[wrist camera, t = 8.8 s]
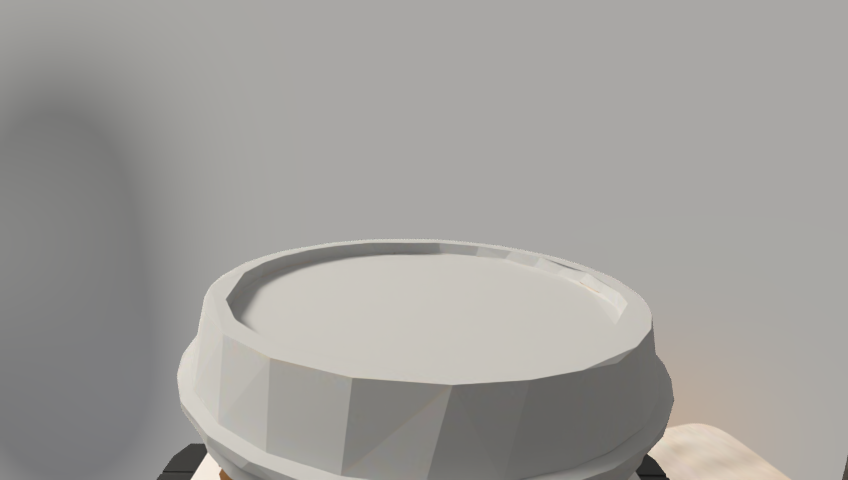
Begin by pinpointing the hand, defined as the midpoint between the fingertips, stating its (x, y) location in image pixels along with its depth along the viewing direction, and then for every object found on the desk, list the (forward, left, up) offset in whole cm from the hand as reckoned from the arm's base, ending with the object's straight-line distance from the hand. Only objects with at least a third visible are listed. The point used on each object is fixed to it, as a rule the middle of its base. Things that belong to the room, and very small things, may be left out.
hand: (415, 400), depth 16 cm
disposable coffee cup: (+3, +3, -7) cm, 8 cm away
